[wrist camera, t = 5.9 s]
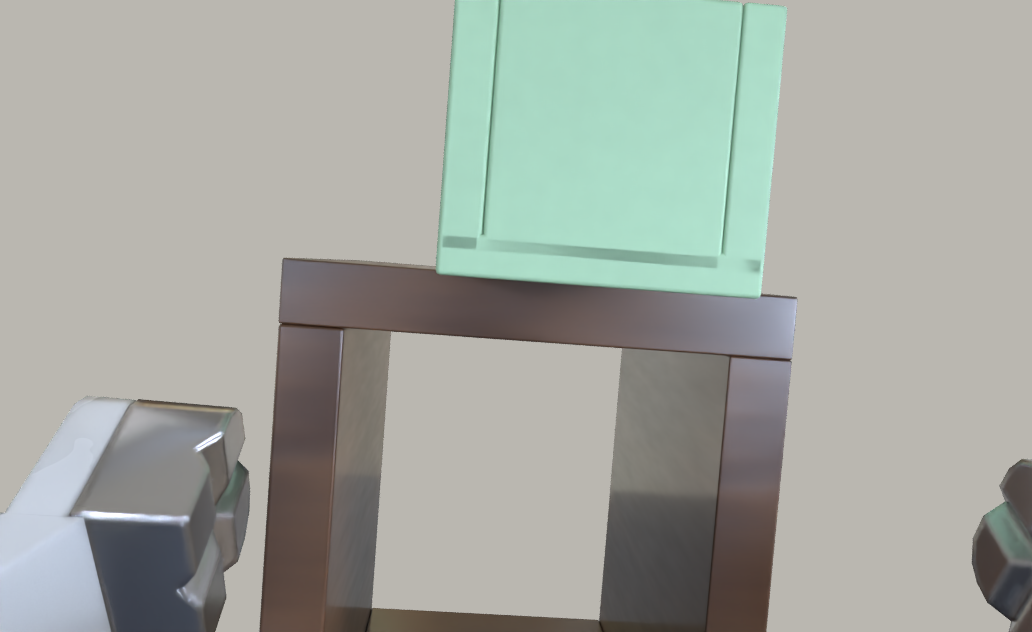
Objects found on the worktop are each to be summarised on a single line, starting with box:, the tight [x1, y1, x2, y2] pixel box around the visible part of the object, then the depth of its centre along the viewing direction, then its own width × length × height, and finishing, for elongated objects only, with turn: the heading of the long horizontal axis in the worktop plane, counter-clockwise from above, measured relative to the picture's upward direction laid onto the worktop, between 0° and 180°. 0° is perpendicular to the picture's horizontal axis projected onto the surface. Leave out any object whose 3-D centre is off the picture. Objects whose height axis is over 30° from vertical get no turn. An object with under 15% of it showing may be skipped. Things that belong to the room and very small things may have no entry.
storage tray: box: [436, 0, 787, 299], centre depth 23 cm, size 4×22×4 cm, turn 3°
